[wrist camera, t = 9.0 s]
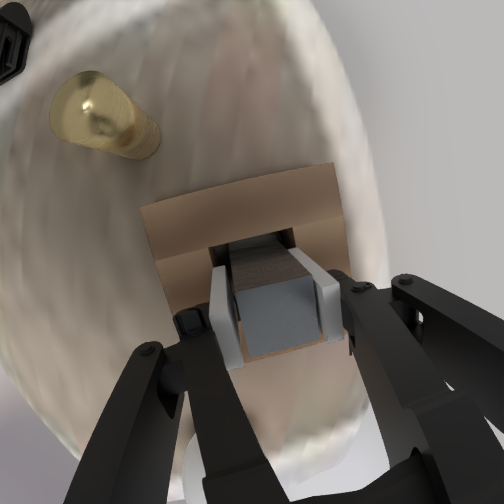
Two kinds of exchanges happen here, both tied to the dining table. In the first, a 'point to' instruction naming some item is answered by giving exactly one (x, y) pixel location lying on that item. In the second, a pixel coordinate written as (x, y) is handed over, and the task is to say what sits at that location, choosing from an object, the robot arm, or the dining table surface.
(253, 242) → the square bit
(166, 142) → the dining table surface
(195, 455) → the white air blower
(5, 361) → the dining table surface
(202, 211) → the socket board
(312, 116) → the dining table surface
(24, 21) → the end cap
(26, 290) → the dining table surface
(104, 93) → the round bit
